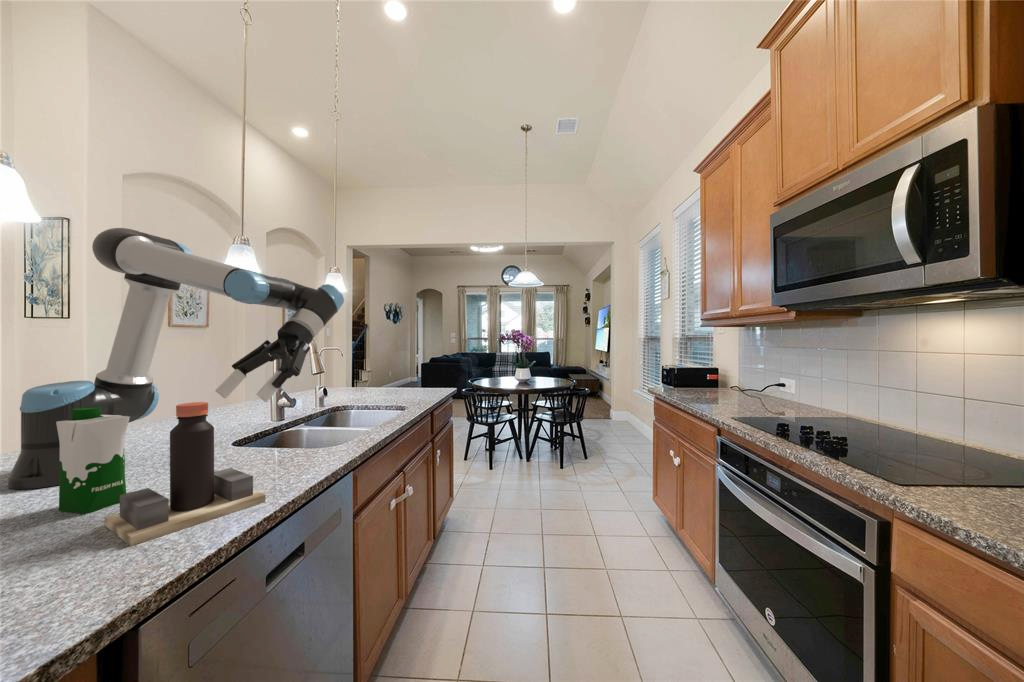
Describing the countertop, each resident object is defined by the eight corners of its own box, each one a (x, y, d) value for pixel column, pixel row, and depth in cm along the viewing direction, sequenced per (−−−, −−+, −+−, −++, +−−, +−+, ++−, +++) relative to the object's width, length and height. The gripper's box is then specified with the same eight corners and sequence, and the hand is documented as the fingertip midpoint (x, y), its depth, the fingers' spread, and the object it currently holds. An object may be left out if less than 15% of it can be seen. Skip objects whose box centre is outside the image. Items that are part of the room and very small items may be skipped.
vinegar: (160, 512, 73) (159, 406, 73) (189, 497, 80) (189, 401, 80) (196, 511, 73) (195, 406, 73) (222, 497, 80) (222, 401, 80)
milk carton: (103, 495, 85) (104, 404, 85) (135, 498, 83) (136, 406, 83) (48, 512, 76) (49, 411, 76) (83, 516, 75) (83, 413, 75)
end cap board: (104, 525, 71) (104, 495, 71) (233, 488, 89) (233, 464, 89) (130, 546, 64) (130, 513, 64) (265, 501, 82) (265, 475, 82)
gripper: (345, 341, 97) (291, 410, 83) (275, 340, 106) (216, 402, 93) (328, 318, 92) (268, 388, 78) (257, 320, 102) (191, 382, 88)
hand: (240, 396), depth 85 cm, fingers open, 13 cm apart
